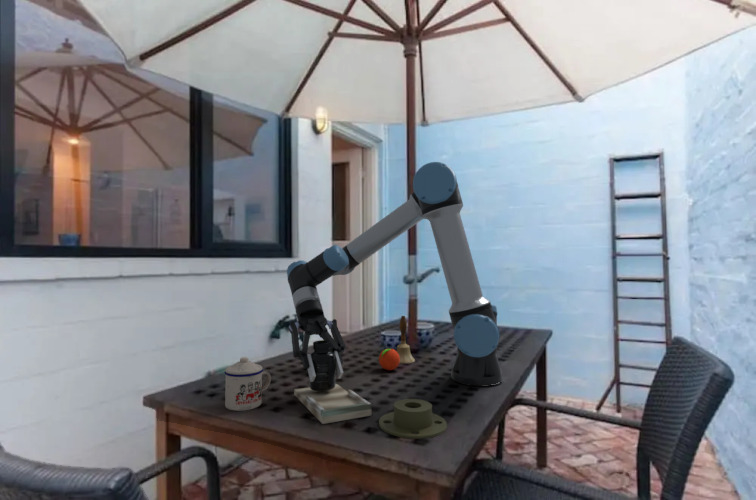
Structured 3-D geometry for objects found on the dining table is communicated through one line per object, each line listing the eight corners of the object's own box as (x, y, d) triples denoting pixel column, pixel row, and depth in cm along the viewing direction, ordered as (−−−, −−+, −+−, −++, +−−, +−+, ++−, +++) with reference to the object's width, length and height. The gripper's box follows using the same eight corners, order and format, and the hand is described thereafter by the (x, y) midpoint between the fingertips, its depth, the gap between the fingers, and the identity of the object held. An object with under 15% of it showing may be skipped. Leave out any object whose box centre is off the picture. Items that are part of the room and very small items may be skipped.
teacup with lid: (235, 414, 101) (236, 364, 101) (217, 404, 107) (218, 357, 107) (279, 402, 109) (280, 356, 109) (260, 394, 115) (261, 350, 116)
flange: (379, 417, 89) (452, 417, 89) (378, 394, 103) (441, 394, 104) (379, 440, 88) (452, 440, 89) (378, 413, 103) (441, 414, 104)
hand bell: (388, 362, 152) (388, 316, 152) (396, 357, 159) (396, 314, 160) (410, 364, 149) (411, 318, 149) (418, 359, 156) (418, 315, 156)
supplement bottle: (340, 386, 115) (340, 340, 115) (326, 393, 109) (327, 345, 109) (318, 382, 118) (318, 338, 118) (303, 389, 112) (304, 342, 112)
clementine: (389, 374, 136) (390, 352, 136) (372, 370, 140) (372, 348, 140) (404, 369, 142) (404, 347, 142) (386, 366, 146) (387, 345, 147)
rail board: (294, 394, 115) (294, 384, 115) (336, 389, 121) (336, 379, 121) (322, 423, 95) (322, 411, 96) (371, 415, 101) (371, 403, 101)
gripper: (336, 312, 132) (357, 380, 117) (271, 316, 123) (286, 389, 108) (343, 296, 127) (366, 365, 112) (276, 299, 118) (292, 373, 103)
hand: (327, 377), depth 110 cm, fingers closed on supplement bottle, 7 cm apart
